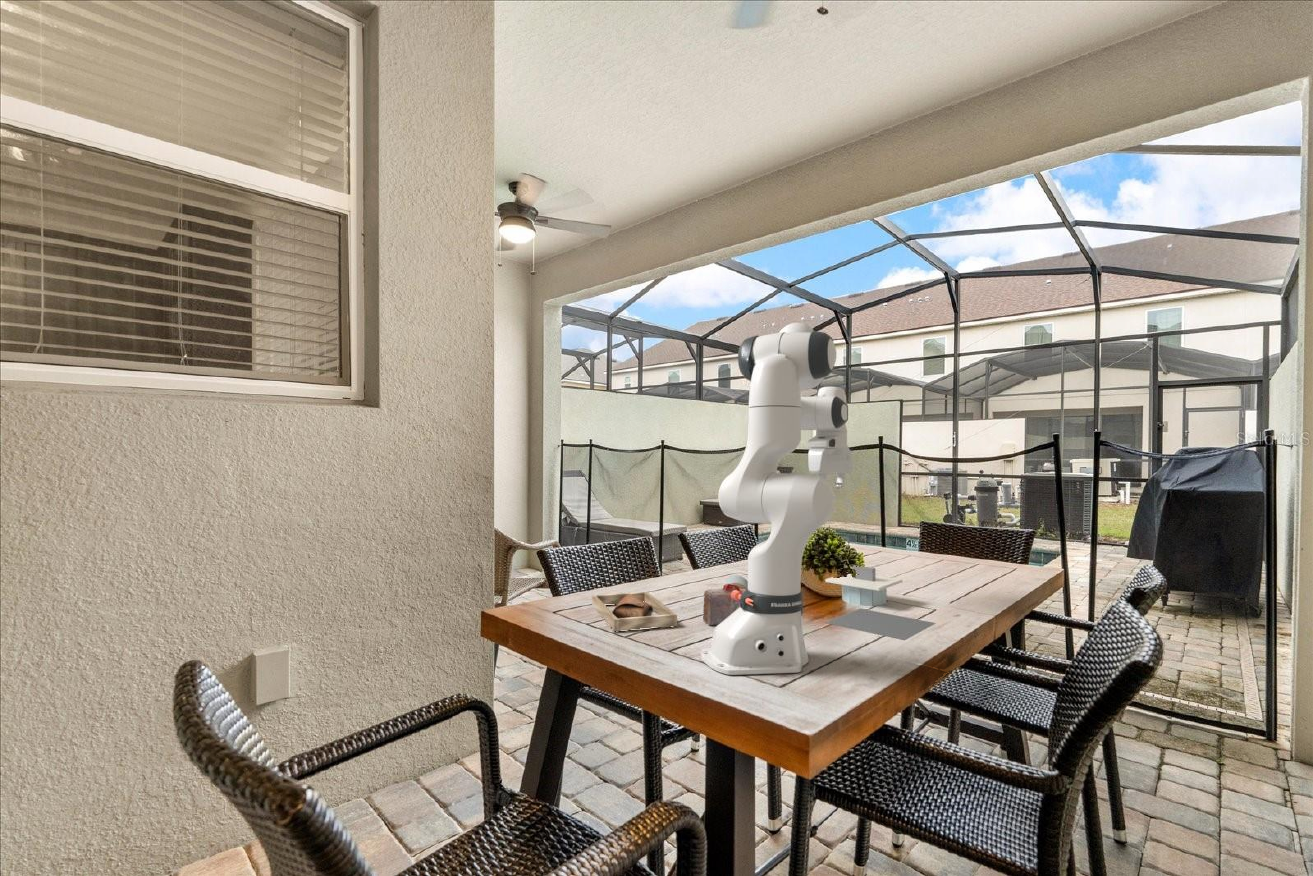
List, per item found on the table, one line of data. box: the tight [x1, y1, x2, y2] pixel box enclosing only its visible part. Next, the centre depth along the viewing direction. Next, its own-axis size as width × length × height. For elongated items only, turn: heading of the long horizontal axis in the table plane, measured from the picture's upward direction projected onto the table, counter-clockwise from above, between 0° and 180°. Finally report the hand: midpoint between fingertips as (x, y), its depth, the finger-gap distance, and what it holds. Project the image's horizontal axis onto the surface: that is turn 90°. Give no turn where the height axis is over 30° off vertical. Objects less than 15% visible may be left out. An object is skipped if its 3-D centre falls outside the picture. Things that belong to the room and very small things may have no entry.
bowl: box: [841, 585, 888, 607], centre depth 175 cm, size 12×12×6 cm
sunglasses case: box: [611, 594, 651, 618], centre depth 158 cm, size 18×7×7 cm
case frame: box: [591, 591, 678, 631], centre depth 158 cm, size 16×26×3 cm, turn 18°
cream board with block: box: [825, 565, 903, 591], centre depth 175 cm, size 16×16×4 cm
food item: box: [702, 584, 746, 626], centre depth 153 cm, size 14×8×10 cm, turn 99°
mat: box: [824, 608, 936, 641], centre depth 151 cm, size 20×20×1 cm
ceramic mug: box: [723, 574, 748, 589], centre depth 171 cm, size 11×8×8 cm
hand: (831, 489), depth 176 cm, fingers open, 8 cm apart
